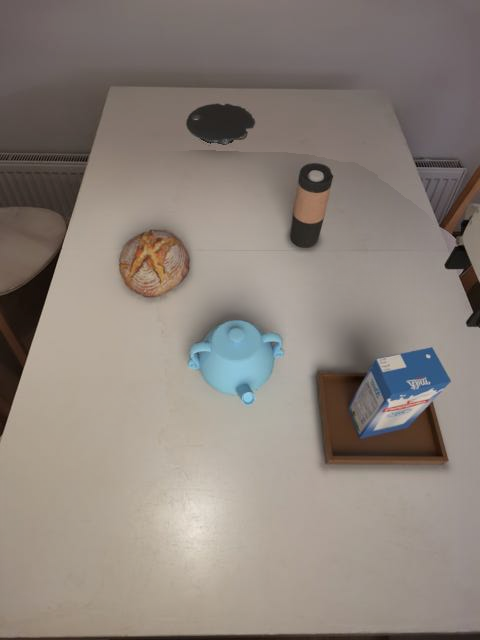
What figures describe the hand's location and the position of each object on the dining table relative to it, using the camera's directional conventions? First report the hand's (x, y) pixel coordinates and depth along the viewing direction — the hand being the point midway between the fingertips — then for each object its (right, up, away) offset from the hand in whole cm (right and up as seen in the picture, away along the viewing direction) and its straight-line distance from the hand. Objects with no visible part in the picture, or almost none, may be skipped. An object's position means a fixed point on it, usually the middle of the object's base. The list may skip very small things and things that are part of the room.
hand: (465, 294), depth 58 cm
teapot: (-31, -15, +31) cm, 46 cm away
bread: (-51, +9, +47) cm, 70 cm away
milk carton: (-4, -23, +26) cm, 34 cm away
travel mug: (-14, +18, +54) cm, 58 cm away
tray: (-4, -23, +26) cm, 35 cm away
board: (-37, +55, +79) cm, 103 cm away
